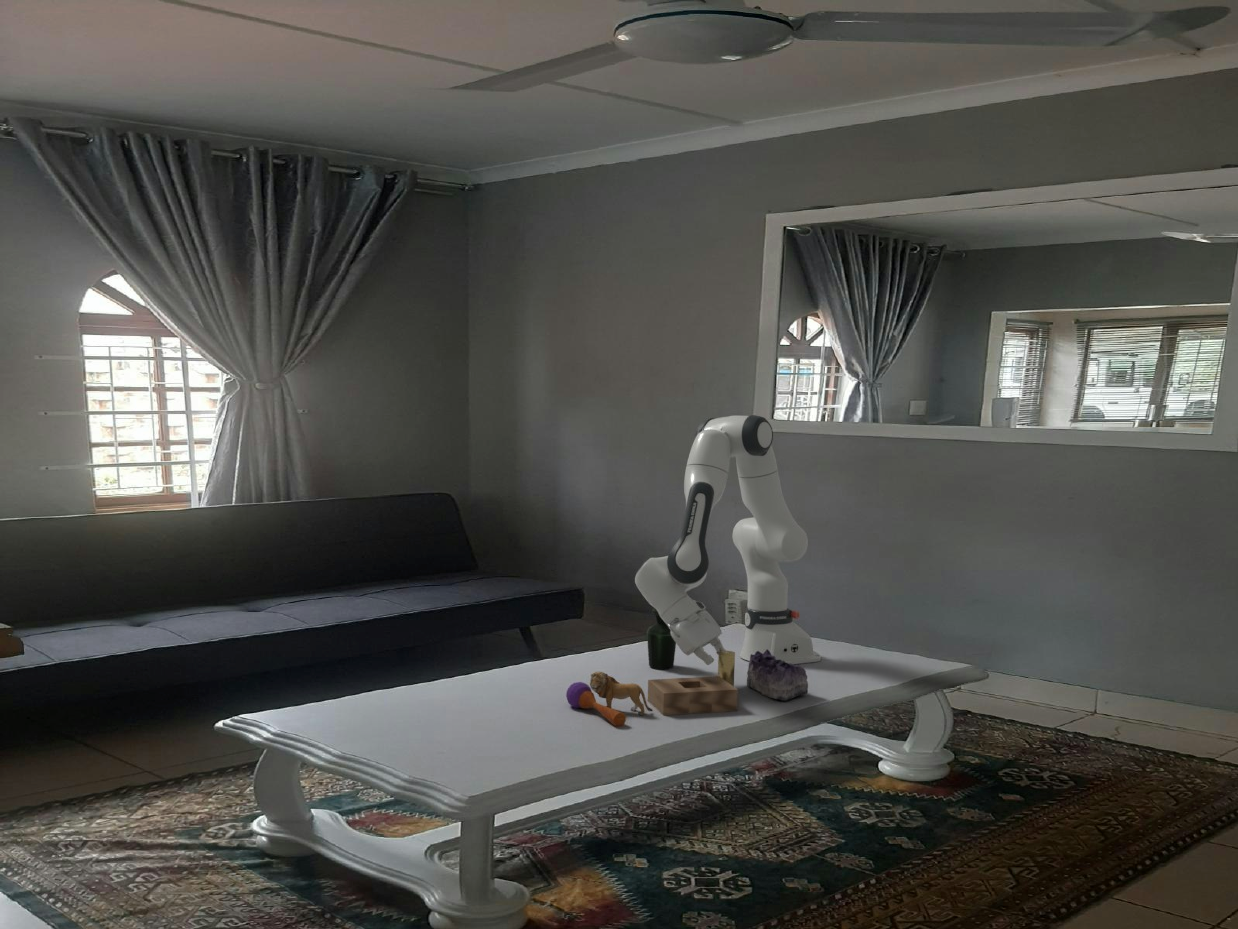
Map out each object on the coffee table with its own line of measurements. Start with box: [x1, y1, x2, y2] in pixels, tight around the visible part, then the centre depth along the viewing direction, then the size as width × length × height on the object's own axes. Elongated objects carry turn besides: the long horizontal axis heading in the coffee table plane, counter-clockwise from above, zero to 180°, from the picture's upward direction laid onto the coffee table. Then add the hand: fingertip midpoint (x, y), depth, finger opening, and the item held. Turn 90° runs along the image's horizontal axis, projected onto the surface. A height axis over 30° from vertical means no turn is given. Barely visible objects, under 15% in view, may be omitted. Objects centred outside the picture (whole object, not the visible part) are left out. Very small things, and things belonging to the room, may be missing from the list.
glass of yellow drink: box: [717, 650, 736, 687], centre depth 264 cm, size 4×4×10 cm
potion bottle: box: [646, 607, 677, 671], centre depth 287 cm, size 8×8×18 cm
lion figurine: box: [589, 671, 654, 716], centre depth 246 cm, size 15×5×9 cm, turn 83°
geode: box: [746, 649, 809, 702], centre depth 266 cm, size 20×12×10 cm, turn 27°
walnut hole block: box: [647, 675, 739, 716], centre depth 252 cm, size 18×12×5 cm, turn 105°
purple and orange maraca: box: [565, 681, 627, 728], centre depth 243 cm, size 6×6×20 cm
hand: (717, 659), depth 264 cm, fingers open, 8 cm apart
